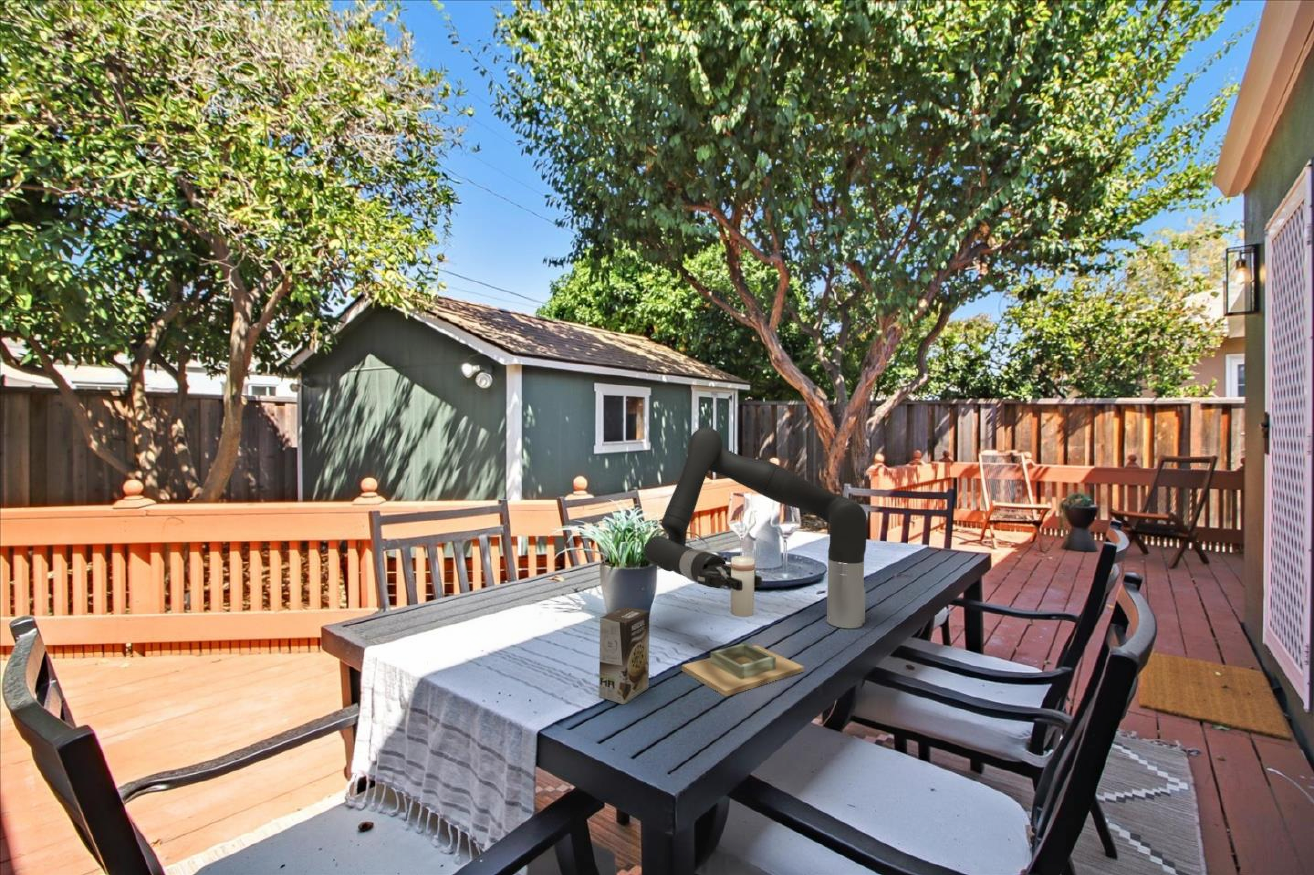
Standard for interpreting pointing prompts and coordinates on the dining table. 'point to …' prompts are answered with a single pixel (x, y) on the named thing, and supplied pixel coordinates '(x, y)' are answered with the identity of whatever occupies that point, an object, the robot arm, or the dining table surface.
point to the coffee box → (624, 654)
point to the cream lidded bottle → (743, 586)
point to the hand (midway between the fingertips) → (750, 584)
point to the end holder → (740, 668)
